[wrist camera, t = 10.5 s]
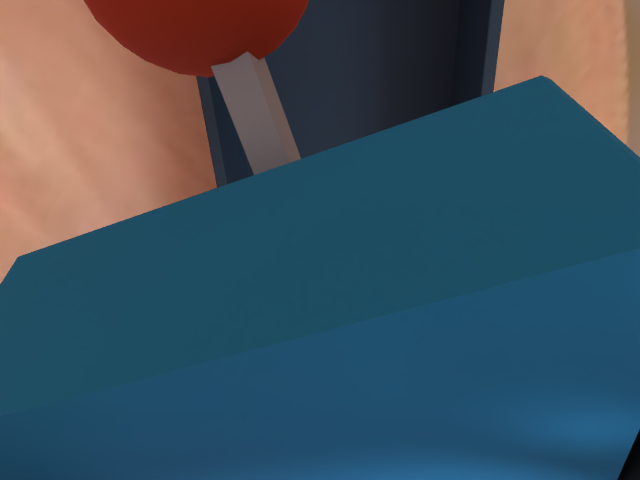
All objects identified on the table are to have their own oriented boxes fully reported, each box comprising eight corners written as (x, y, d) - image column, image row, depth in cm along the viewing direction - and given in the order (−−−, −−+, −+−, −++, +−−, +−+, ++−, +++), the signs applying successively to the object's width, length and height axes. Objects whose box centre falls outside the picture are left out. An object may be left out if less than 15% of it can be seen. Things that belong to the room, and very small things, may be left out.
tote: (263, 309, 29) (250, 363, 24) (201, -91, 19) (158, -125, 14) (440, 304, 28) (460, 358, 24) (477, -116, 18) (524, -160, 13)
